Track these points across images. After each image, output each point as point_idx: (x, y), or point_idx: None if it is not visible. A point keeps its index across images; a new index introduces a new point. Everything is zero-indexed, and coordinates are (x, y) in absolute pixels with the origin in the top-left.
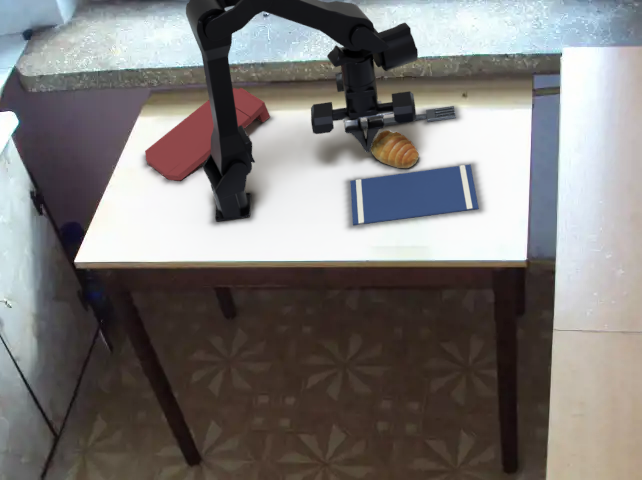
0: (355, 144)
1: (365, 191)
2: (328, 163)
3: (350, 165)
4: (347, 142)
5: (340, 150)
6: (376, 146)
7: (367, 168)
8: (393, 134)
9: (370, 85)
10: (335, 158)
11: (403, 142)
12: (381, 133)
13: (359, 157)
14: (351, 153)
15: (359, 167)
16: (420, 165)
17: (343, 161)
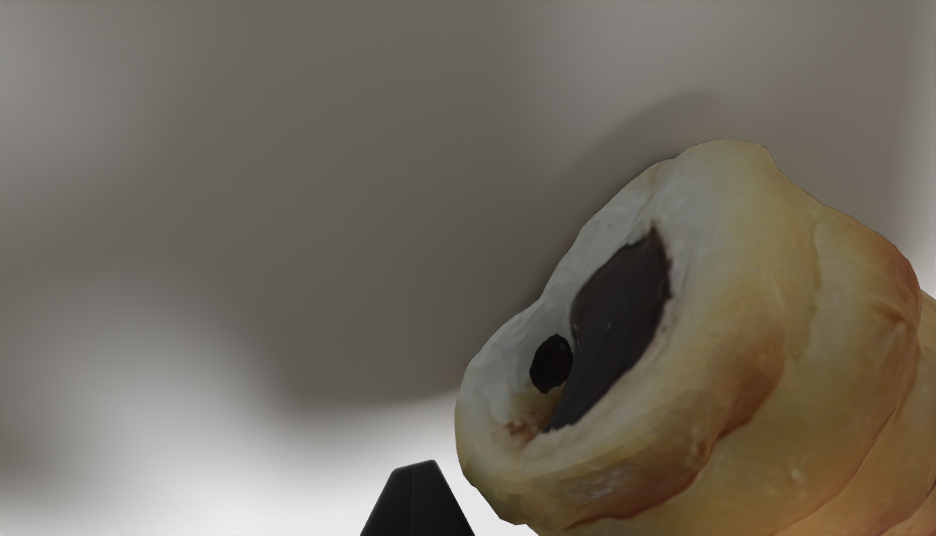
0: (185, 205)
1: None
2: (23, 505)
3: (270, 508)
4: (47, 165)
5: (39, 321)
6: (553, 532)
7: None
8: (847, 442)
9: None
10: (57, 440)
11: (933, 526)
12: (658, 464)
13: (322, 410)
14: (206, 361)
15: (366, 521)
16: None
17: (172, 470)
